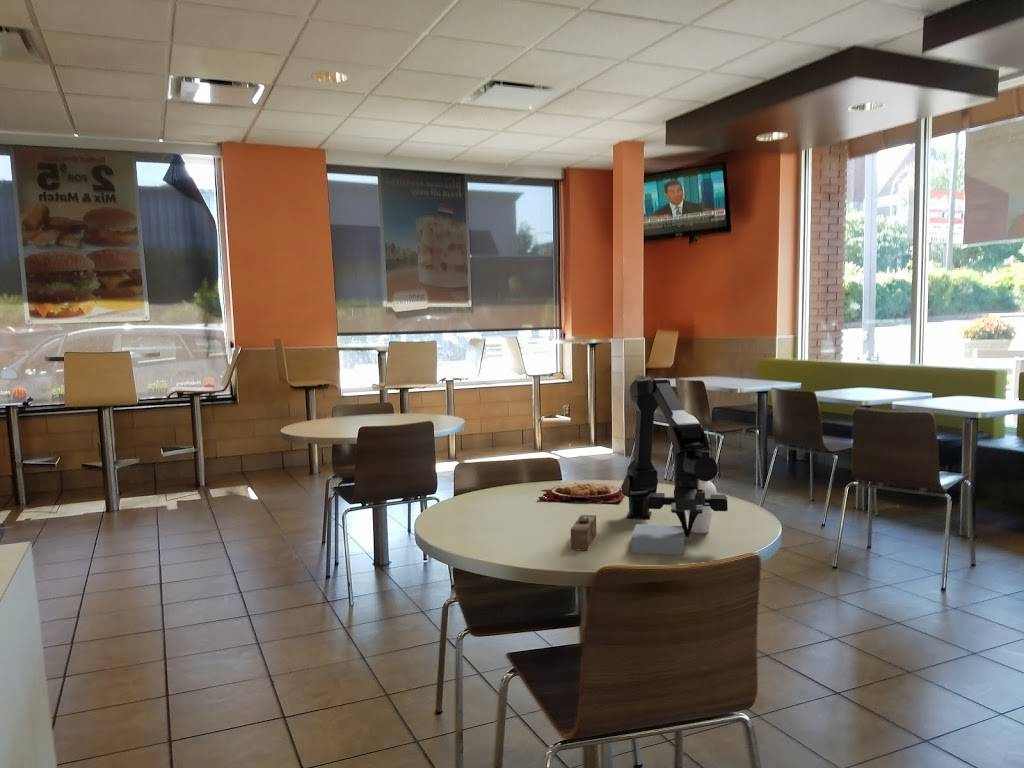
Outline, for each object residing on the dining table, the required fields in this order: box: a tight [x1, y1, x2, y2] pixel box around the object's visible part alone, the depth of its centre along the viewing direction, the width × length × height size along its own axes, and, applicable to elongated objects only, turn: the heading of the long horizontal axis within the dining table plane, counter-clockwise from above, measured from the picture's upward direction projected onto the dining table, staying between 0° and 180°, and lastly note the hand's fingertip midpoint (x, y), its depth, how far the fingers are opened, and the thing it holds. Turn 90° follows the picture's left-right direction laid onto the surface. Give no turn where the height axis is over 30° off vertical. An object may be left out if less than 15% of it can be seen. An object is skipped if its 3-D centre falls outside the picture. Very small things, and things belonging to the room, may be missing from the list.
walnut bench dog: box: [570, 514, 597, 551], centre depth 183 cm, size 14×4×6 cm, turn 164°
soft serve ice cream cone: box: [686, 480, 717, 534], centre depth 188 cm, size 8×8×16 cm
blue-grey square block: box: [630, 523, 686, 555], centre depth 178 cm, size 12×12×4 cm
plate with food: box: [538, 482, 626, 505], centre depth 235 cm, size 24×26×4 cm
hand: (687, 536), depth 176 cm, fingers closed
